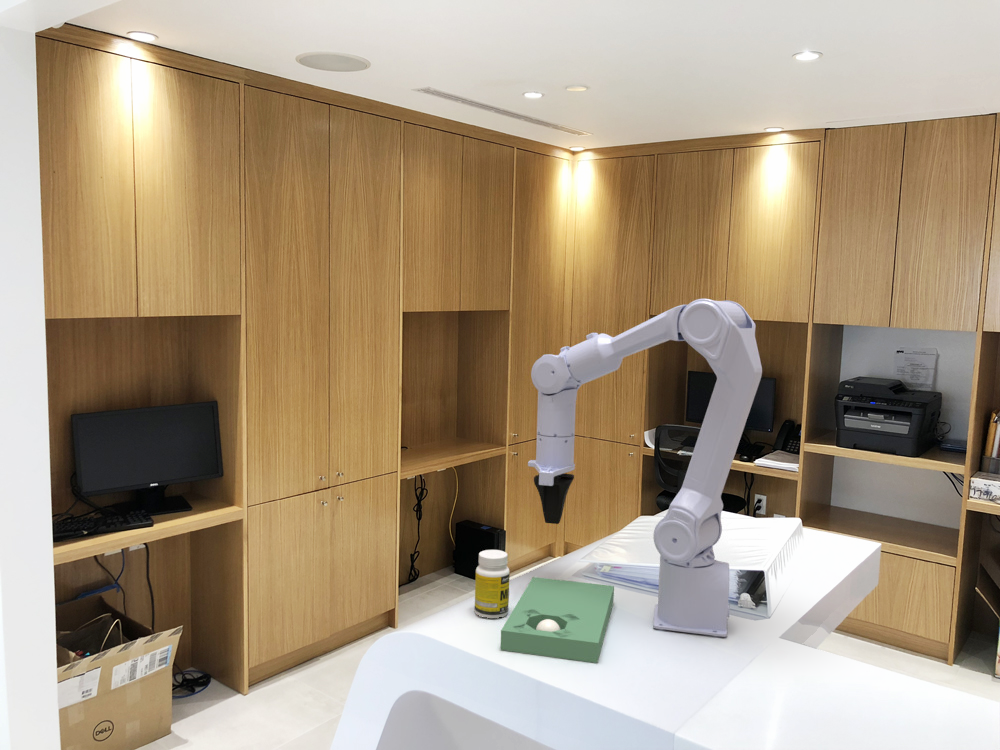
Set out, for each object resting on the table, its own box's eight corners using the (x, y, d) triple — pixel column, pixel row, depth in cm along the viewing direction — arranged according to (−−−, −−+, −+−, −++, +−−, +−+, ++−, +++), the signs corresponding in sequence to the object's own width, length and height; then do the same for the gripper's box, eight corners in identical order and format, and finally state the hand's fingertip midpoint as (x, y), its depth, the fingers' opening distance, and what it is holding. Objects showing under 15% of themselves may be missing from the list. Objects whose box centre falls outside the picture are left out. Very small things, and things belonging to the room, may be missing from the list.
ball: (558, 640, 98) (562, 617, 98) (558, 652, 95) (562, 628, 95) (534, 636, 99) (538, 612, 98) (533, 647, 95) (536, 623, 95)
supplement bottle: (504, 621, 104) (506, 560, 103) (470, 617, 105) (472, 557, 104) (511, 608, 108) (513, 550, 108) (478, 604, 109) (480, 547, 109)
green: (613, 602, 111) (614, 586, 111) (597, 663, 92) (598, 643, 92) (532, 593, 114) (533, 576, 114) (500, 649, 95) (501, 630, 95)
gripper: (538, 425, 124) (536, 508, 125) (519, 439, 110) (516, 532, 111) (582, 428, 122) (579, 512, 123) (568, 443, 108) (564, 537, 109)
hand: (552, 522), depth 117 cm, fingers closed
